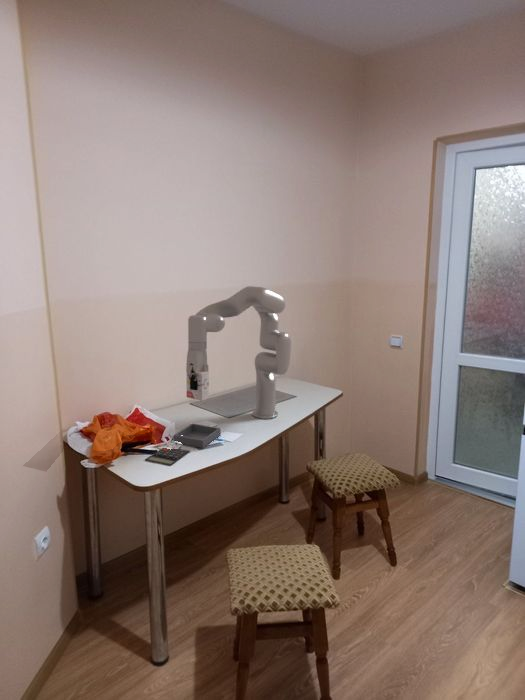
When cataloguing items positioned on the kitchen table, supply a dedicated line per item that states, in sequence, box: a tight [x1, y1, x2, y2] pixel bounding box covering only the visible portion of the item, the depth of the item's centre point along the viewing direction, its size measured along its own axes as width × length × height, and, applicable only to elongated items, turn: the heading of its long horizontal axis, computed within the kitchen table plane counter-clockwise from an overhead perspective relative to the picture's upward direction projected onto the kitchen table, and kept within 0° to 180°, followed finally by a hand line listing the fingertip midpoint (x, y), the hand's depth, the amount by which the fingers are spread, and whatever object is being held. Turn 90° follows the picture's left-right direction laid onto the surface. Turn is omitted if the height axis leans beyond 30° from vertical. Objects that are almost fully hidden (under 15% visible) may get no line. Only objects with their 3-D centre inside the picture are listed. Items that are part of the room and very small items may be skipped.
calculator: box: [144, 447, 191, 467], centre depth 199 cm, size 12×1×15 cm
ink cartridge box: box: [186, 363, 210, 401], centre depth 211 cm, size 9×5×15 cm, turn 58°
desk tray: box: [172, 423, 222, 450], centre depth 216 cm, size 16×14×4 cm
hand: (197, 387), depth 212 cm, fingers closed on ink cartridge box, 5 cm apart
